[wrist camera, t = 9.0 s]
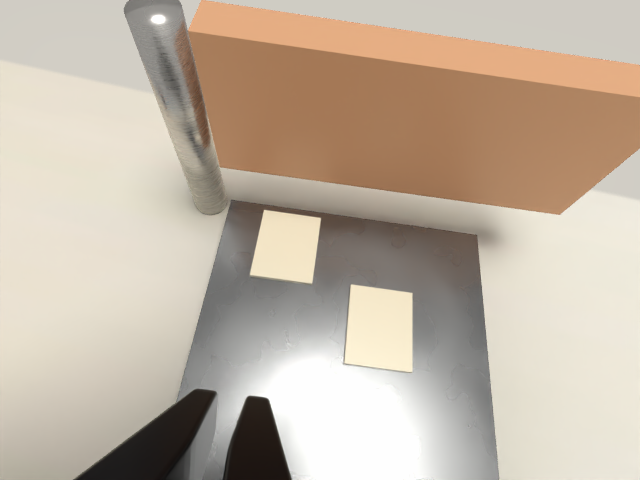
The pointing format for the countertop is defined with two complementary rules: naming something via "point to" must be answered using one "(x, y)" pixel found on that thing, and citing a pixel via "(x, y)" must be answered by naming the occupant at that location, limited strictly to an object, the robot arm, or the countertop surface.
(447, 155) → the peach rectangular plank
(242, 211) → the plate
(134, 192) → the countertop surface
